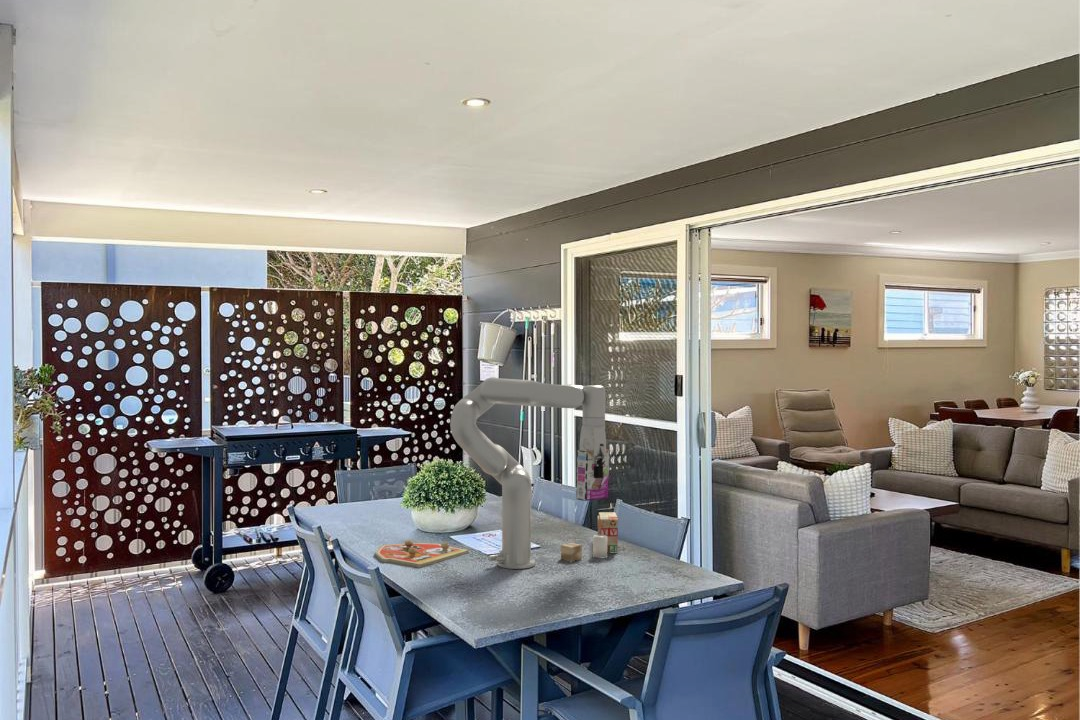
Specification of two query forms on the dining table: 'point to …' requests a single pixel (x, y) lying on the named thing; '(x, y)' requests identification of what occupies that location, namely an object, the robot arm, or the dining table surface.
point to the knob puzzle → (417, 553)
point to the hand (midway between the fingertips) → (593, 476)
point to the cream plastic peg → (599, 545)
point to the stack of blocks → (608, 529)
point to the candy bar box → (591, 477)
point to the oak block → (571, 551)
